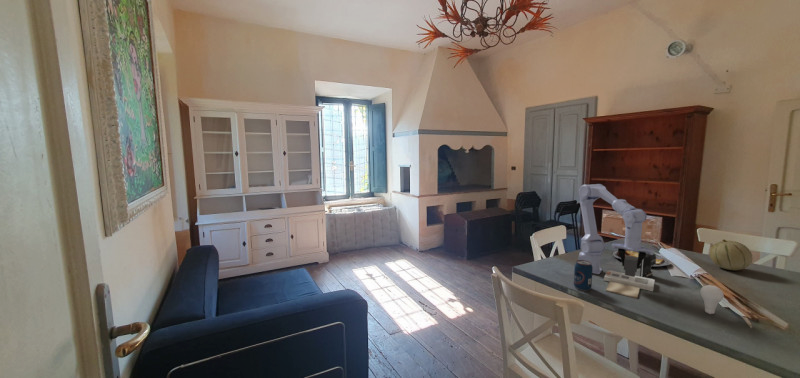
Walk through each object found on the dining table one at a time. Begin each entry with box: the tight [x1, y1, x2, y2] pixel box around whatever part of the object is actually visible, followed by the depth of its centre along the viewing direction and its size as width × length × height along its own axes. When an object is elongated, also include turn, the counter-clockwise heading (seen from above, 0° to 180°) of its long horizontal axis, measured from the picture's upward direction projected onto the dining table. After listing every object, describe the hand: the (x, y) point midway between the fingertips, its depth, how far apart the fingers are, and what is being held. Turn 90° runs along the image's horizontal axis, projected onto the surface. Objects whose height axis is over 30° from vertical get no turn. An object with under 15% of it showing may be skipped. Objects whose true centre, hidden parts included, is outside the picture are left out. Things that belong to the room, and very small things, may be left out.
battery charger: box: [639, 253, 657, 278], centre depth 150 cm, size 7×4×11 cm, turn 119°
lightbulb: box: [699, 284, 725, 315], centre depth 116 cm, size 6×6×11 cm
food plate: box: [611, 249, 671, 267], centre depth 172 cm, size 25×23×4 cm
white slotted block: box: [603, 270, 656, 292], centre depth 145 cm, size 18×10×3 cm, turn 48°
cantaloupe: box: [709, 239, 753, 271], centre depth 157 cm, size 15×15×15 cm
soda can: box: [573, 259, 593, 292], centre depth 140 cm, size 7×7×12 cm
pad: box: [605, 281, 641, 299], centre depth 137 cm, size 11×11×1 cm
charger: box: [623, 255, 638, 277], centre depth 138 cm, size 4×6×8 cm
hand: (630, 266), depth 138 cm, fingers closed on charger, 4 cm apart
